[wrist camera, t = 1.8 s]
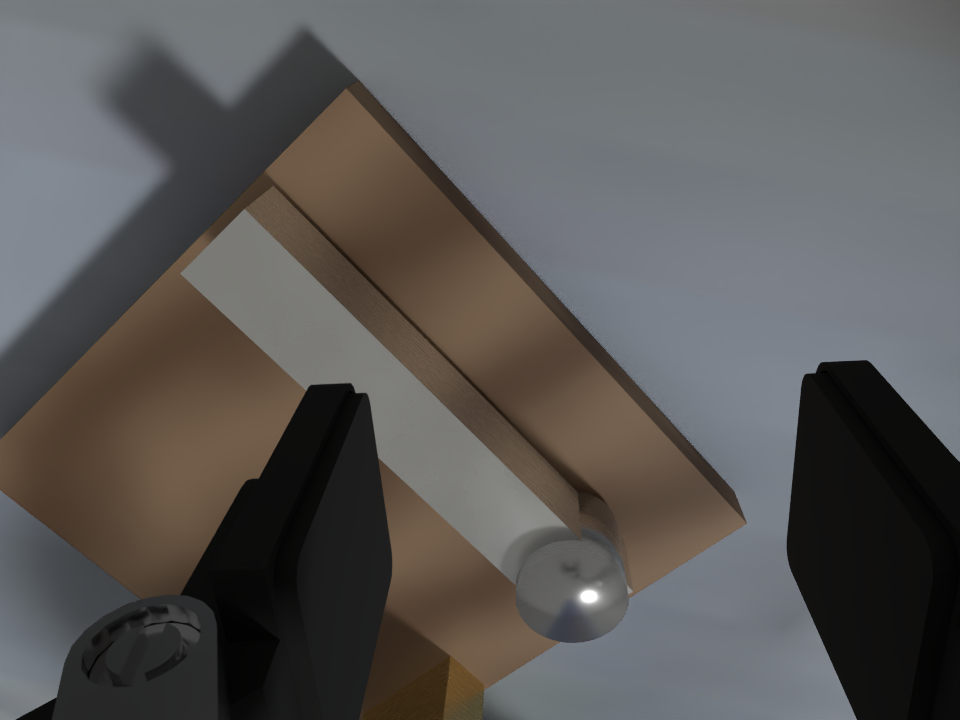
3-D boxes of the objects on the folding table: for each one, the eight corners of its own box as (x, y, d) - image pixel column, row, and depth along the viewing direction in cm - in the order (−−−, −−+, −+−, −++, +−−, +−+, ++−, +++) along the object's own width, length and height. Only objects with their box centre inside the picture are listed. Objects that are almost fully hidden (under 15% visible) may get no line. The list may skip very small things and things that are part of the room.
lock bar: (638, 537, 30) (651, 605, 27) (561, 588, 31) (564, 659, 28) (282, 176, 25) (246, 205, 22) (207, 251, 26) (161, 290, 23)
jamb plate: (734, 492, 31) (746, 523, 30) (367, 731, 38) (359, 768, 36) (359, 80, 26) (346, 88, 24) (3, 440, 32) (-28, 468, 31)
